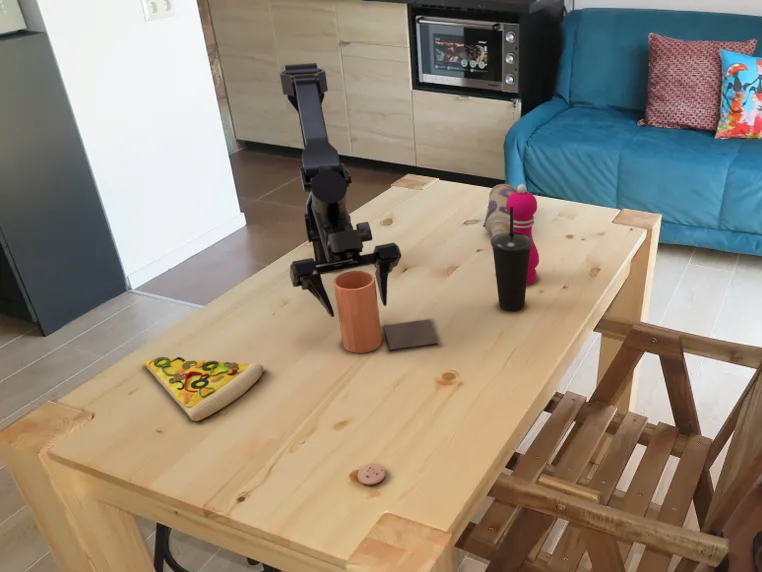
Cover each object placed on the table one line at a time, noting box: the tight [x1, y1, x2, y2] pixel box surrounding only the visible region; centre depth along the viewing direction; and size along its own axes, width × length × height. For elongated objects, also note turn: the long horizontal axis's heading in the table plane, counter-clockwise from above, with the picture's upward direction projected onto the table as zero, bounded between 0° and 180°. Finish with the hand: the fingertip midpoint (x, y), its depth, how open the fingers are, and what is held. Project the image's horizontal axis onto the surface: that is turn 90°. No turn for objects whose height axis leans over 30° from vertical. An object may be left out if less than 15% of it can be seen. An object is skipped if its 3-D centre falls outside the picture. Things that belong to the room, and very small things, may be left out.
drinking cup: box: [490, 207, 534, 313], centre depth 139 cm, size 8×8×20 cm
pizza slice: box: [143, 356, 264, 422], centre depth 123 cm, size 16×21×3 cm
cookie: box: [357, 463, 386, 486], centre depth 105 cm, size 4×4×1 cm
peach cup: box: [333, 270, 383, 354], centre depth 130 cm, size 7×7×12 cm
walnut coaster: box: [383, 319, 438, 352], centre depth 136 cm, size 8×8×1 cm
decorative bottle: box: [482, 183, 517, 237], centre depth 170 cm, size 26×8×7 cm, turn 177°
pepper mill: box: [506, 183, 540, 286], centre depth 148 cm, size 7×7×20 cm
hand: (359, 310), depth 129 cm, fingers open, 9 cm apart
